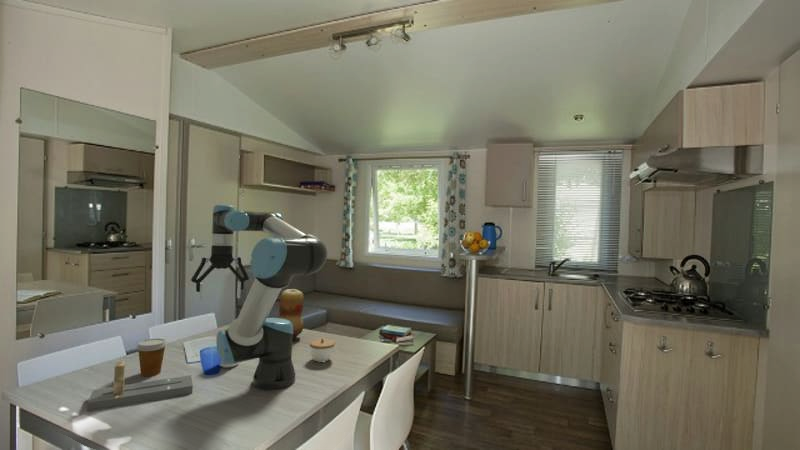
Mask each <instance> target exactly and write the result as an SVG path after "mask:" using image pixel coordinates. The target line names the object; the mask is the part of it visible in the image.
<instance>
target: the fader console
mask: <svg viewBox="0 0 800 450" xmlns="http://www.w3.org/2000/svg"><path fill="white" fill-rule="evenodd" d="M188 394H193V380H192V375H191V374H189V375H182V376H175V377H170V378H162V379H157V380H150V381H142V382H136V383H129V384H124V391H123V393H122V394H116V395H114V386H110V387H103V388H96V389H92V392H91V394H90V397H89V399H88V401H87V407H86V408H87V409H86V411H87V412H91V411H97V410H102V409H107V408H114V407H120V406H125V405H131V404H138V403H142V402H148V401H154V400H160V399H166V398H171V397H172V398H173V397H177V396H183V395H188Z"/></svg>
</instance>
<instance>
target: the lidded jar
mask: <svg viewBox="0 0 800 450" xmlns="http://www.w3.org/2000/svg"><path fill="white" fill-rule="evenodd" d="M334 350H335V341H334V340H332V339H328V338H317V339H313V340H311V341H310V342H309V353H310V357H311V358H312V359H313V361H314V360H315V361H318V362H317V363H319V362H323V361H327V360H328V361H329V360H330V359H331V358H332V357H333V354H334V352H335V351H334ZM315 361H314V362H315ZM328 361H327V362H328ZM323 363H324V362H323Z"/></svg>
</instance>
